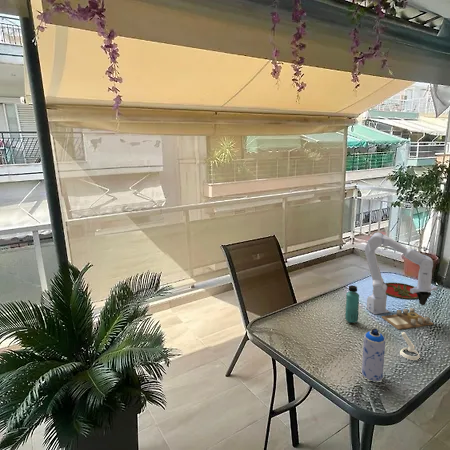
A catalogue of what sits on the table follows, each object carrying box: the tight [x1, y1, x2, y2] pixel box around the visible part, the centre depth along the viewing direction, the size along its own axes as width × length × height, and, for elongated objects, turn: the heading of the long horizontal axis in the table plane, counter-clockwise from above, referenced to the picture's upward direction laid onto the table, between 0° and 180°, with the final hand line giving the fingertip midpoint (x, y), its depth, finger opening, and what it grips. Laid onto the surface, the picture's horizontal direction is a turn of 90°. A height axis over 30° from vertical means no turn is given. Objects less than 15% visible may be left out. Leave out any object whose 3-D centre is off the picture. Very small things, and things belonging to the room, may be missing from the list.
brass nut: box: [407, 311, 420, 321], centre depth 160 cm, size 5×4×2 cm
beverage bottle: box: [344, 285, 360, 323], centre depth 159 cm, size 6×7×20 cm
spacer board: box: [381, 307, 434, 330], centre depth 160 cm, size 20×13×3 cm, turn 101°
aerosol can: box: [361, 328, 386, 381], centre depth 119 cm, size 8×8×20 cm
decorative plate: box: [384, 282, 419, 301], centre depth 196 cm, size 25×1×25 cm
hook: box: [399, 331, 421, 361], centre depth 133 cm, size 8×12×7 cm
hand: (422, 304), depth 160 cm, fingers closed
